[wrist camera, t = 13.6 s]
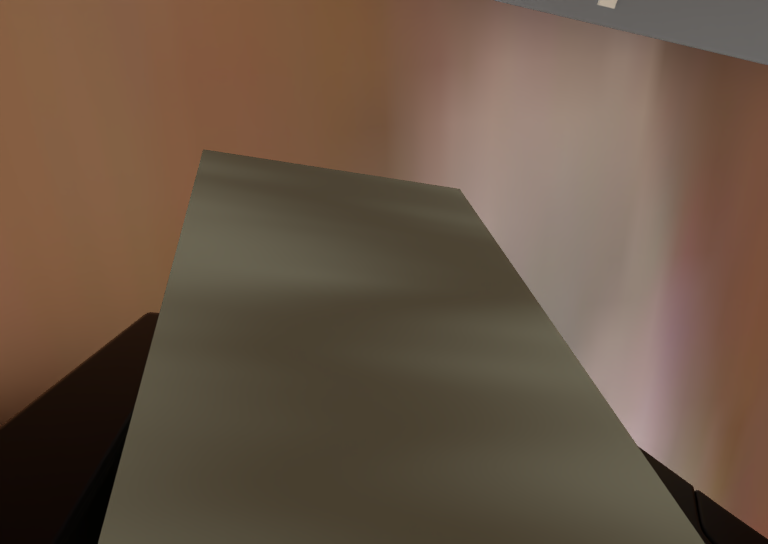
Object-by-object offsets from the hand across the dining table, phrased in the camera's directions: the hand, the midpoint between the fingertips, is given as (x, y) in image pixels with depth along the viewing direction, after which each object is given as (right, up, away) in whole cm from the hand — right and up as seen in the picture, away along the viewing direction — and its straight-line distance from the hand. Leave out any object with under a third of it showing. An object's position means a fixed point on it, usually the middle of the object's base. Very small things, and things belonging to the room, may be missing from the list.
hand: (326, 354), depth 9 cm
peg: (0, +1, +2) cm, 2 cm away
